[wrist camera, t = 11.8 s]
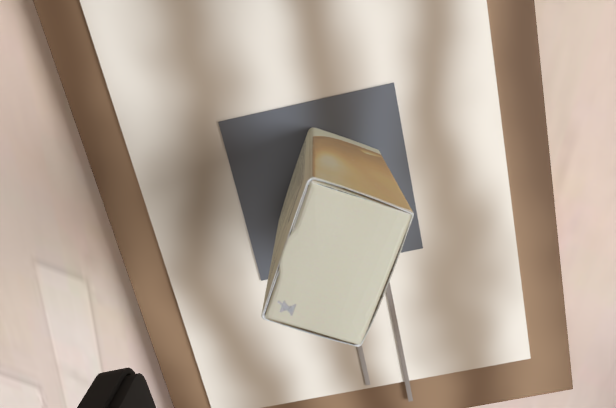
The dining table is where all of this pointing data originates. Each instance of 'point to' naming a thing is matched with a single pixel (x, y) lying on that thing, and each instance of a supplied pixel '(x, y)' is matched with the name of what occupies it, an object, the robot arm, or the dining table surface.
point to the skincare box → (336, 240)
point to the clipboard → (278, 173)
